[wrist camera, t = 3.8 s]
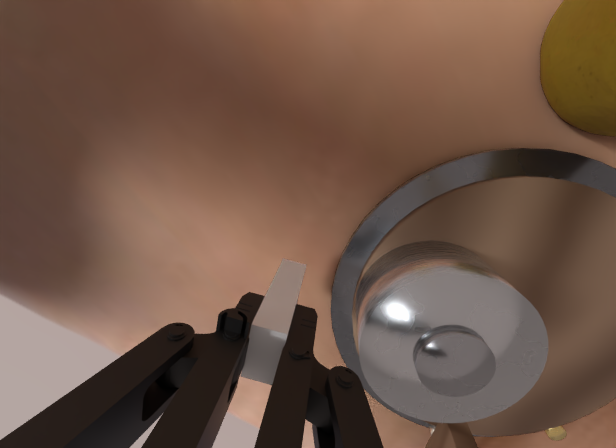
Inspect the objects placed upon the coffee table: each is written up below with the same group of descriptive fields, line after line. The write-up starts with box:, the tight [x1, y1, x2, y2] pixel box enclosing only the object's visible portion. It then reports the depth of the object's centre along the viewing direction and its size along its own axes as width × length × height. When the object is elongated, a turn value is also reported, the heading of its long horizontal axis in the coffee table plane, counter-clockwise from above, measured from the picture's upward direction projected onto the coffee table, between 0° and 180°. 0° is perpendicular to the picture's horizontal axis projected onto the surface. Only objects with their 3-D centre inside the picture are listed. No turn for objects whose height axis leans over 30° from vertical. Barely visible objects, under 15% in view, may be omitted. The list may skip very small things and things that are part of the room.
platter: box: [352, 176, 616, 448], centre depth 18 cm, size 19×24×5 cm
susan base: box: [331, 148, 616, 441], centre depth 20 cm, size 22×22×1 cm
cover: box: [355, 240, 548, 423], centre depth 16 cm, size 9×9×5 cm
